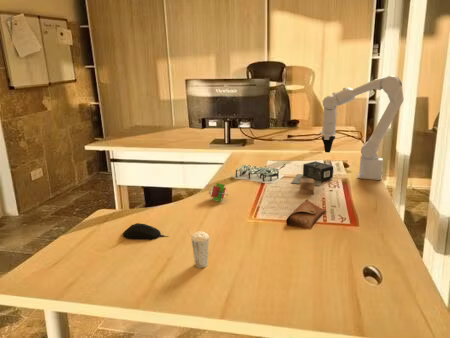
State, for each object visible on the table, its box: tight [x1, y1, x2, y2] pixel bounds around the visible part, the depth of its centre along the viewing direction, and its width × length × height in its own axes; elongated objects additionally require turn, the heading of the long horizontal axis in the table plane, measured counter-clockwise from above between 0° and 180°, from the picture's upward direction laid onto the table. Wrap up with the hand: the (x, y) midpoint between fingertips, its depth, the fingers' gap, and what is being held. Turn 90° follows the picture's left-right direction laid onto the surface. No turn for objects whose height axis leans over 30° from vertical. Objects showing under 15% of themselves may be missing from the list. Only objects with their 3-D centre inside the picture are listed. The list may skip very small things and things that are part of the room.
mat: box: [290, 173, 323, 187], centre depth 164 cm, size 12×13×1 cm
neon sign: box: [231, 163, 286, 184], centre depth 177 cm, size 21×4×29 cm
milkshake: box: [187, 230, 210, 269], centre depth 98 cm, size 4×5×10 cm
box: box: [302, 160, 334, 182], centre depth 166 cm, size 8×6×11 cm
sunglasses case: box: [286, 198, 327, 231], centre depth 127 cm, size 18×7×7 cm, turn 150°
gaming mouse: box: [121, 222, 170, 241], centre depth 116 cm, size 6×15×4 cm, turn 81°
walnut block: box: [299, 178, 315, 196], centre depth 150 cm, size 5×5×5 cm
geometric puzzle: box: [208, 182, 229, 203], centre depth 143 cm, size 7×7×8 cm
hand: (327, 152), depth 173 cm, fingers closed
